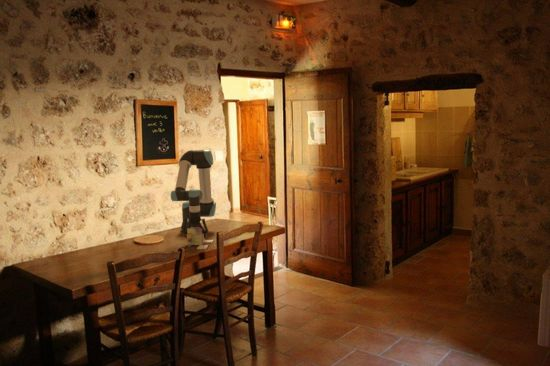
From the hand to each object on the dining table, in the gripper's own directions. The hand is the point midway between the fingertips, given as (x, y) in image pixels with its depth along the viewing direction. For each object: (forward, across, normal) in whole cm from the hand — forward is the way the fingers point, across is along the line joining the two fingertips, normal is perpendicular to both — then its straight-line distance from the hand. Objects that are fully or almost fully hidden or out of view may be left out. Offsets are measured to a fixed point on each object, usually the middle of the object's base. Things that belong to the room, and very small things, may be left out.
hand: (196, 242), depth 357 cm
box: (+2, 0, 0) cm, 2 cm away
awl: (+1, -3, -6) cm, 7 cm away
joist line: (+1, +7, -2) cm, 8 cm away
